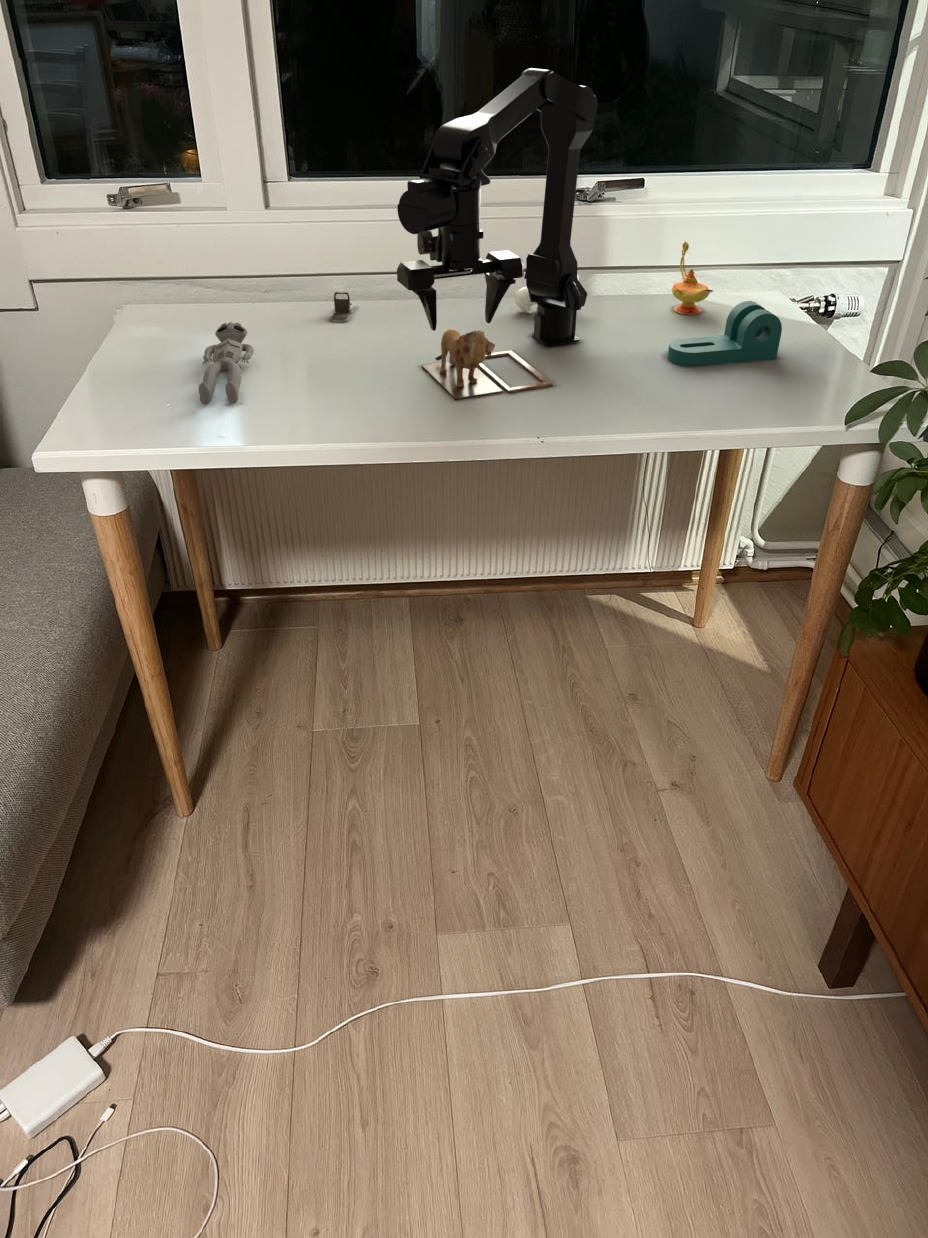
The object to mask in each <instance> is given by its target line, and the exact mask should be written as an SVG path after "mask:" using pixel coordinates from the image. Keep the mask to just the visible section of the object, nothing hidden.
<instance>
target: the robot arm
mask: <svg viewBox="0 0 928 1238" xmlns="http://www.w3.org/2000/svg"><path fill="white" fill-rule="evenodd" d="M597 98H598V97H597V96H596V95H595V93H594V91H593V89H592V88H591V87H590V86H588V85H581V84H580V85H579V84H578V83H575V82H572V81H570V80H568V79H566V78H563V77H562V76H560V75H559V74H558V73H557V72H554V71H553V70H551V69H543V68H533V67H530V68H527V69H525V70H523V71H522V72H521V74H520V76H519V78H517V79H516V80H515V81H514V82H512V84H509V85H508V86H507V87H506V88H505V89H504V90H502V91H501V92H500V93H499V94H498V95H496V96H495V97H494V98H493V99H492V100H490V101H489V102H488V103H486V104H485V105H484V106H483V107H481V108H480V109H479V110H478V111H477V112H474V113H473V114H469V115H464V116H461V117H456V118H454V119H452V120H450V121H448V122H446V123H444V124H442V125H441V126H440V127H438V129H437V130H436V132H435V133H434V138H433V141H432V143H431V146H430V148H429V151H428V153H427V155H426V158H425V160H424V162H423V165H422V167H421V169H420V172H419V175H418V176H419V179H412V180H408V181H407V184H406V185H407V190H406V191H404V192H403V193H401V195H400V198H399V200H398V204H397V207H396V209H397V210H396V211H397V216H398V220H399V222H400V224H401V226H402V227H403V229H404V230H405V231H406V232H407V233H409V234H411V235H416V237H417V238H416V241H417V243H416V244H417V245H416V246H417V253H418V254H419V255H420V256H421V255H429V260H430V261H436V262H437V263H441V264H439V265H438V264H437V265H429V264H428V263H427V262H425V261H424V260H423V259H418V260H409V261H408V260H407V261H400V263H399V265H398V266H397V268H396V281H397V282H398V283H399V284H401V286H403V287H404V288H405V289H407V290H408V291H412V292H413V293H414V294H415V295H416V296H418V299H419V301H420V303H421V305H422V308H423V310H424V312H425V315H426V319H427V321H428V325H429V327H430V329H431V331H433V332H435V331H436V330H437V324H438V317H437V316H438V315H437V289H435V288H434V287H433V286H434V284H435V280H442V279H449V278H456V277H457V278H458V277H466V276H474V275H475V276H476V275H484V279H485V285H486V289H485V290H486V291H485V305H484V317H485V318H484V320H485V322H486V323H487V324H491V323H492V320H493V318H494V316H495V314H496V312H497V311H498V308H499V306H500V304H501V302H502V300H503V298H504V296H505V295H506V293H507V291H508V290H509V289H510V287H511V285H514V284H516V282H517V279H520V278H523V279H525V287H526V286H527V289H528V292H529V297H530V301H531V302H536V303H537V304H536V312H534V315H533V318H534V319H533V331H532V332H531V336H532V337H533V338H535V339H536V340H537V341H539V342H540V343H542V344H543V345H544V346H546V347H552V346H553V347H554V346H560V345H567V344H573V343H579V342H580V338H579V337H578V336H576V329H577V328H576V327H577V315H578V314H577V313H578V311H581V310H582V308H583V307H585V305H586V301H587V297H588V292H587V291H586V289H585V288H584V286H583V285H582V283H581V282H580V280H578V279H577V273H578V260H577V258H576V256H575V253H574V250H573V248H572V245H571V240H572V230H573V222H574V211H575V204H576V203H575V202H576V195H577V193H576V192H577V184H578V175H579V164H580V156H581V155H580V154H581V150H582V148H583V146H584V144H585V143H586V141H587V140H588V138H590V135H591V134H592V132H593V128H594V124H595V119H596V114H597V110H598V99H597ZM535 111H538V112H539V113H540V128H541V131H542V134H543V137H544V139H545V141H546V144H547V146H548V153H547V163H546V175H545V185H544V186H545V188H544V198H543V208H542V209H543V210H542V219H541V230H540V231H541V232H540V242H539V244H538V245H537V246H536V248H535V250H534V252H532V253H528V254H527V256H526V259H525V261H526V265H525V264H524V260H523V259H522V258H521V257H520V256H519V255H516V254H515V253H514V252H512V251H510V250H509V249H506V250H497V251H489V252H487V254H486V256H485V259H482V258H481V239H482V240H483V239H484V230H483V229H481V194H482V193H481V191H482V189H481V187H484V186H488V185H490V184H491V179H490V177H489V176H488V175H486V174H485V173H484V171H483V170H484V168H485V167H486V166H487V165H488V163H490V161H491V160H492V159H493V158H494V157H495V155H496V150H497V145H498V144H499V143H500V141H501V140H502V139H503V138H504V137H506V136H507V135H508V134H509V133H510V132H511V131H513V129H515V128H516V127H517V126H518V125H519V124H521V123H522V122H523V121H525V120H526V119H527V118H528V117H529V116H530V115H532V114H533V113H534V112H535ZM433 230H437V235H436V236H435V235H433V232H432V231H433ZM525 266H526V267H525Z"/></svg>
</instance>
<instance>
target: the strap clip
mask: <svg viewBox="0 0 928 1238" xmlns="http://www.w3.org/2000/svg"><path fill="white" fill-rule="evenodd" d="M337 295H346V296H347V298H337ZM333 304H334V305H333V306H334V311H335V312H334V314H333V315H332V316H331V321H332V322H346V321H348V320H349V318H350V314H352V313H353V311H354V310H355V303H351V296H350V293H349V292H347V291H335V292H334V294H333Z"/></svg>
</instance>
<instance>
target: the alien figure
mask: <svg viewBox="0 0 928 1238" xmlns="http://www.w3.org/2000/svg"><path fill="white" fill-rule="evenodd" d="M214 335H215V337H216V338H217V339H218V340H219V343H218V344H212V345H209V346H207V347H206V348H205V350H204V353H203V357H202V358H203V361H202V366H204V365H205V364H206V365H207V363H208V364H210V362H213V363H212V364H210V365H209V366H208V367H207V368H206V369H205V371H204V374H203V376H202V377H203V378H202V382H200V383H199V385H198V395H199V396H198V397H199V401H200V403H201V404H203V405H209V404H210V403H211V402H212V400H213V398H214V393H215V390H216V384H217V378H218V377H219V375H220V374H223V373H225V374H228V377H227V381H226V384H225V387H224V388H225V389H224V392H225V396H226V398H227V401H228V402H229V403H230V404H237V402H238V401H239V393H240V387H241V381H242V370H241V368H240V366H239V365H238V363H239V362H240V361H241V363H247V364H249V360H250V359H252V356H253V355H254V351H255V350H254V347H253V346H252V345H251V344H250V343H249V344H248V343H243V342H244V340H245V338H246V336H247V335H248V330H247V329H246V328H245V327H243V326H242V323H239V322H232V321H230V322H228V323H227V322H224V323H222V324H221V325H220V326H219V327H218V328H217V329H216V330H215V332H214ZM243 352H245V353H244V354H243V356H242V353H243Z"/></svg>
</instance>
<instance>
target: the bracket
mask: <svg viewBox="0 0 928 1238" xmlns="http://www.w3.org/2000/svg"><path fill="white" fill-rule="evenodd" d="M782 332H783V324H782V321H781V319H780V318H779V317H778V316H777V315H775V314H774V313H772V312H771V311H769V310H767V309H766V308H765V307H763V306H762V305H761V304H759V303H757V302H756V301H753V300H746V301H742V302H739V303H738V304H736V305H735V306H734V307H733V308H732V309H731V310H730V311H729V313H728V315H727V318H726V321H725V326H724V333H723V334H722V335H709V336H697V337H685V338H677V339H672V340H671V341H670V342H669V343H668V350H667V360H668V361H670V362H671V363H673V364H675V365H678V366H679V365H681V366H686V367H696V366H707V365H708V366H709V365H721V364H730V363H742V362H743V363H744V362H753V361H754V362H755V361H765V360H773V359H774V360H776V359H777V358H778V353H779V347H780V342H781V336H782Z"/></svg>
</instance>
